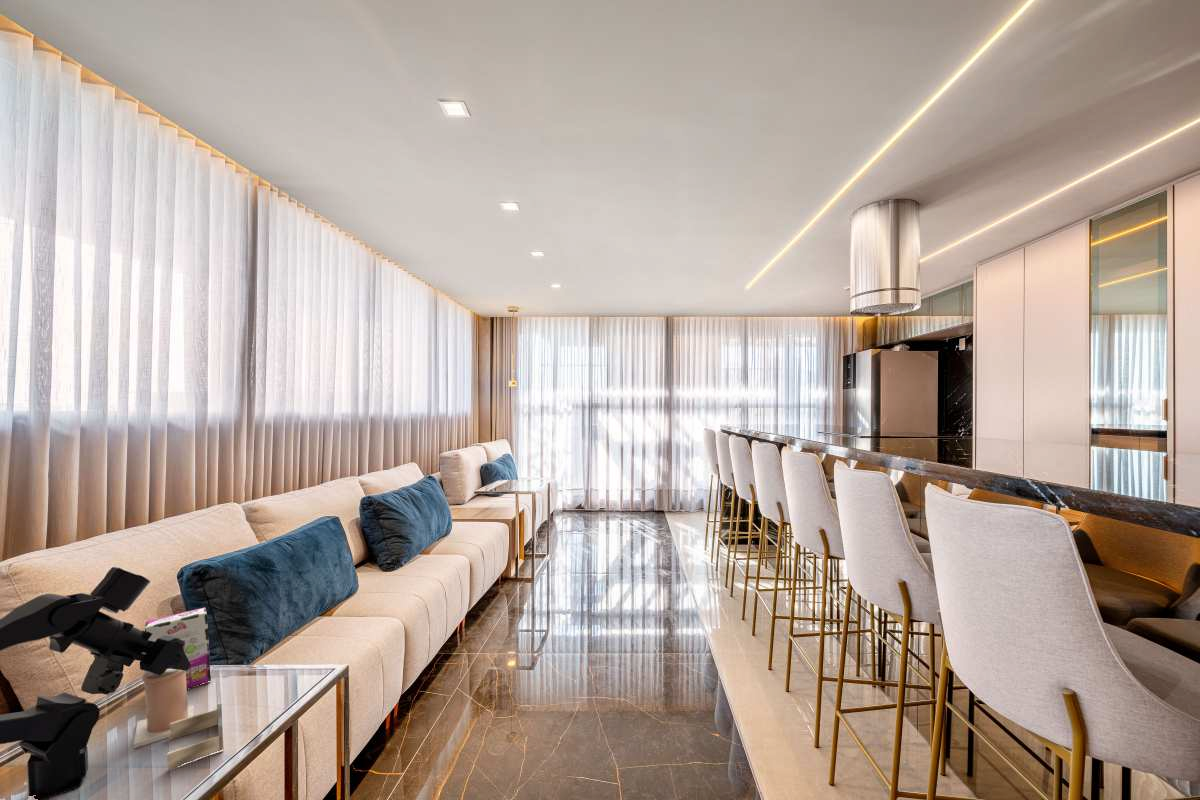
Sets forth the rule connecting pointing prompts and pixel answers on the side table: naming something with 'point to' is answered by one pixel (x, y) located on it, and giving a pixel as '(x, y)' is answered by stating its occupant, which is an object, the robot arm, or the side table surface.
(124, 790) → the side table surface
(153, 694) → the terracotta pot
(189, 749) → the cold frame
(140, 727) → the ceramic tile
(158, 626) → the candy bar box
